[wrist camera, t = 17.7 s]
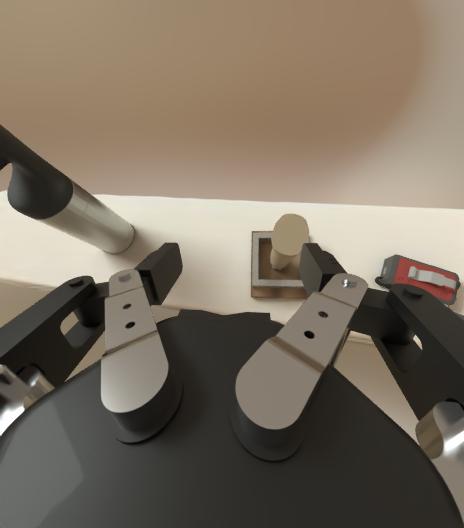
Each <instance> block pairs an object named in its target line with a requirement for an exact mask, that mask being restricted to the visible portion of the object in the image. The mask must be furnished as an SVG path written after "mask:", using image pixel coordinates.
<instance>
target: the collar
mask: <svg viewBox="0 0 464 528" xmlns="http://www.w3.org/2000/svg"><path fill="white" fill-rule="evenodd" d="M272 233H273V232H271V233H253V265H252V288H285V289H305V288H304V285H303V283H302V280H259V279H258V249H259V243H272V241H271V237H272ZM307 243H309V235H308V239H307ZM301 251H302V250H301ZM300 257H301V252H300Z"/></svg>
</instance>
